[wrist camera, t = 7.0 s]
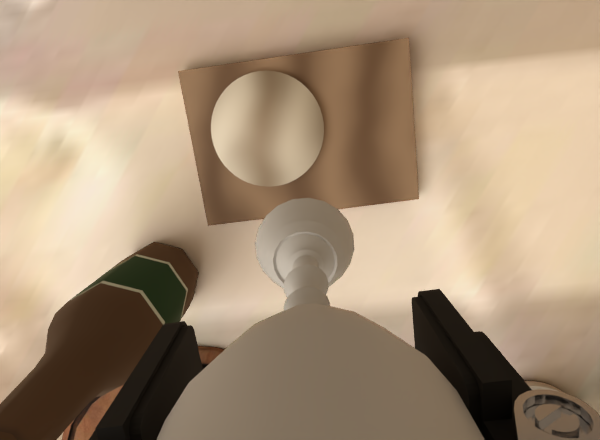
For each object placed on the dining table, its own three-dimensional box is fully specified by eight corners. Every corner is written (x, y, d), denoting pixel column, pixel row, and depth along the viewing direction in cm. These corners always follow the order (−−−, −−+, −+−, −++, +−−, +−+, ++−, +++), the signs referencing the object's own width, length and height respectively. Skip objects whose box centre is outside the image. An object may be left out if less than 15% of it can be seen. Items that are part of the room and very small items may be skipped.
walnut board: (404, 41, 35) (410, 36, 33) (414, 196, 38) (420, 200, 36) (183, 73, 36) (175, 70, 34) (211, 221, 39) (206, 227, 37)
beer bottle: (216, 269, 41) (95, 468, 17) (174, 323, 42) (12, 574, 19) (151, 224, 40) (-69, 371, 16) (111, 281, 41) (-143, 492, 18)
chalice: (309, 333, 22) (348, 1235, 4) (208, 258, 21) (-306, 1063, 3) (402, 234, 20) (1042, 983, 3) (299, 147, 19) (292, 493, 2)
